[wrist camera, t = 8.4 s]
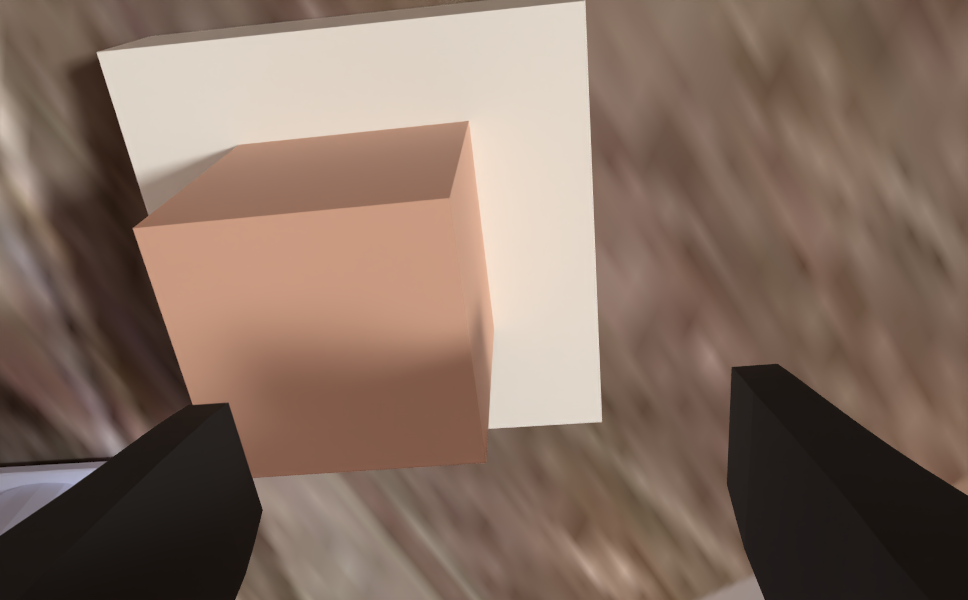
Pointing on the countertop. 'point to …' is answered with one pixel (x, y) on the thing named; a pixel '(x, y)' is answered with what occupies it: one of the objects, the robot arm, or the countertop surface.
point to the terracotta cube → (334, 299)
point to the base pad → (407, 103)
